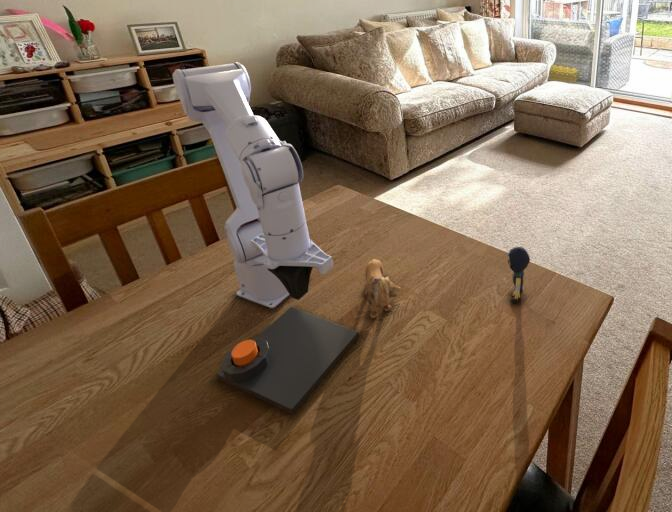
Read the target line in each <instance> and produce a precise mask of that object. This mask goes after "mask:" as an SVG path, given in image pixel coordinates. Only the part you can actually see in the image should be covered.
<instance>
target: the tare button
mask: <svg viewBox="0 0 672 512" xmlns="http://www.w3.org/2000/svg"><path fill="white" fill-rule="evenodd" d="M234 346H235V347H234ZM234 346H233V347H234V348H233V347H232V348H233V350H232V352H231V355H232V358H233V361H234V364H235V365H237V366H244V365H247V364H249V363H251V362H252V361H253V360H254V359H255V358H256V357H257V355H258V349H257V346H256V343H255V341H253V340H248V339H245V340H243V341H241V342H239V343H237V344H236V345H234Z"/></svg>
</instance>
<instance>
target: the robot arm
mask: <svg viewBox="0 0 672 512" xmlns="http://www.w3.org/2000/svg"><path fill="white" fill-rule="evenodd" d="M172 80H173V84H174V88H175V91H176V94H177V97H178V99H179V102H180V104H181V107H182V110H183V112H184V114H185V116H187V118H188V120H189V121H194V122H198V123H202V125H203V126H204V127H205V129H206V131H207V132H208V134H209V136H210V139H211V141H212V144H213V146H214V149H215V152H216V155H217V158H218V161H219V163H220V166H221V169H222V171H223V174H224V177H225V180H226V182H227V185H228V188H229V190H230V193H231V197H232V199H233V202H234V204H235V207H236V208H235V210H234V211H233V212H232V214H231V215H230V216H229V217H228V218H227V220H226V221H225V223H224V226H223V229H224V233H225V234H226V235H225V236H226V241H227V244H228V247H229V250H230V253H231V254H232V257H233V259H234V261H233V269H234V272H235V276H236V279H237V283H238V286H239V290H238V291H237V292H236V293H235V294H236V296H238V297H239V298H243V299H245V300H248V301H250V302H253V303H256V304H259V305H261V306H264V307H267V308H269V309H275V308H276V307H277V306H279V304H281V303H282V302H283V301H285V300H286V299H287V298H288V297H289V296H290V297H291V298H292V299H294V300H296V301H299V300H301V299H302V298H303V297H304V296H305V295H306V294H307V293H309V285H310V280H311V274H312V271H313V268H314V269H316V270H317V271H318V274H321V275H323V276H324V275H325V274H326V273H328V272H329V271H330V270H332V268H334V261H333V256H331V255H329V254H328V253H326V252H325V251H323V250H322V249H321V248H320V247H319V246H318V245H317V244H316V243H315V242H314V241H313V240H312V239H310V233H309V229H308V228H309V227H308V224H307V219H306V214H305V209H304V203H303V199H302V194H301V193H302V192H301V188H300V183H299V182H302V181H303V180H304V175H305V174H304V168H303V164H302V161H301V158H300V156H299V154H298V152H297V150H296V149H295V147H294V146H293V145H292V144H291V143H287V142H286V140H283V141H282V140H280V138H279V137H278V136H277V134H276V132H275V131H274V130H273V128H272V127H271V125H270V124H269V122H268V121H267V120H266V118H265V117H262V116H260V115H256V114H255V115H254V112H253V111H252V109H251V106H250V105H249V103H250V100H251V99H250V98H251V92H252V84H251V80H250V76H249V73H248V71H247V69H246V67H245V66H244V65H243V64H241V63H240V62H239V61H234V62H233V63H224V64H217V65H209V66H202V67H201V66H200V67H194V68H186V69H180V68H177V69H174V72H173V73H172ZM257 219H258V220H257ZM254 220H256V221H254ZM249 222H251V223H249ZM246 223H247V224H246ZM244 224H245V225H244Z"/></svg>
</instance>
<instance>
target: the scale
mask: <svg viewBox="0 0 672 512" xmlns="http://www.w3.org/2000/svg"><path fill="white" fill-rule="evenodd" d="M359 338H360V334H359V331H358V330H356V329H355V330H354V329H352V328H351V327H350V328H349V327H347V326H345V325H342V324H339V323H337V322H333V321H331V320H328V319H325V318H323V317H321V316H317V315H314V314H312V313H309V312H306V311H304V310H301V309H299V308H296V307H293V306H290V307H289V308H288V309H287V310H286V311H285V312H283V313H282V314H281V315H280V316H279V317H277V319H275V321H273V322H272V323H271V324H270V325H269V326H268V327H267V328H266V329H264V330H263V331H262V332H261V333H260V334H258V335H257V337H256V338H248V339H247V340H253V341H255V343H256V346H257V349H258V355H257V357H256V358H255V359H254V360H253V361H252V362H251V363H249V364H247V365H244V366H237V365H235V364H234V361H233V358H232V355H231V352H232V350H233V348H234V347H235V346H236V345H234V346H233V347H232V348H231V349H230V350H228V351H227V352H226V353H225V355H224V357H223V359H222V361H221V369H219V370H218V371H217V372H216V373H215V376H216V378H217V380H219V381H221V382H223V383H225V384H228V385H230V386H232V387H233V388H235V389H237V390H239V391H242V392H244V393H246V394H248V395H250V396H252V397H255V398H256V399H258V400H261V401H263V402H265V403H267V404H269V405H271V406H272V407H273V406H274V407H275V408H278V409H279V410H281V411H284V412H286V413H288V414H290V415H294V414H295V413H296V412H297V411H298V409H300V407H302V405H303V404H304V403H305V401H306V400H307V399H308V398H309V397H310V395H312V394H313V392H314V391H315V390H316V389H317V387H318V386H319V385H320V384H321V382H323V380H324V379H325V378H326V377H327V376H328V374H329V373H330V372H331V371H332V369H333V368H334V367H335V366H336V365H337V364H338V363H339V361H340V360H341V359H342V358H343V357H344V355H345V354H346V353H347V352H348V351H349V349H350V348H351V347H353V345H354V344H355V343H356V341H357V340H358V339H359Z"/></svg>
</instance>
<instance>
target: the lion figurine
mask: <svg viewBox="0 0 672 512" xmlns="http://www.w3.org/2000/svg"><path fill="white" fill-rule="evenodd" d="M384 271H385V269H384V266H383V264H382V262H381V260H380V259H376V258H373V259H371V260H369V262H367V264H366V266H365V281H366V289H365V291H364V295H365V296H366V299H367V303H368V306H369V309H370V314H369V316H370V318H371V319H375V318H377V317H378V310H377V309H379V308H381V307H382V308H383V309H384V311H385V312H389V311H391V309H392V306H391V305H390V303H391V301H392V298H397V297H398V295H399V293H400V290H401V289H402V288H401V287H400V286H398V285H395V284H394V282H393V281H391V280H390V277H389V276H386V277H384V274H385V272H384Z"/></svg>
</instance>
